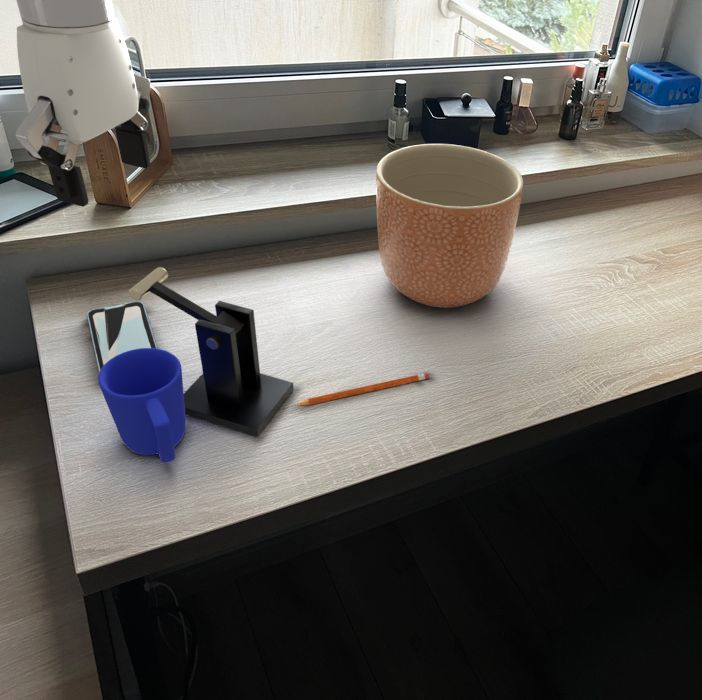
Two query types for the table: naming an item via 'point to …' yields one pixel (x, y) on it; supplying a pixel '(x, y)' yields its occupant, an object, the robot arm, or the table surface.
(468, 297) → the planter
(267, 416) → the bracket
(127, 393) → the mug
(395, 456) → the table surface
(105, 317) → the smartphone
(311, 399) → the pencil
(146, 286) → the lever
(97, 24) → the robot arm
